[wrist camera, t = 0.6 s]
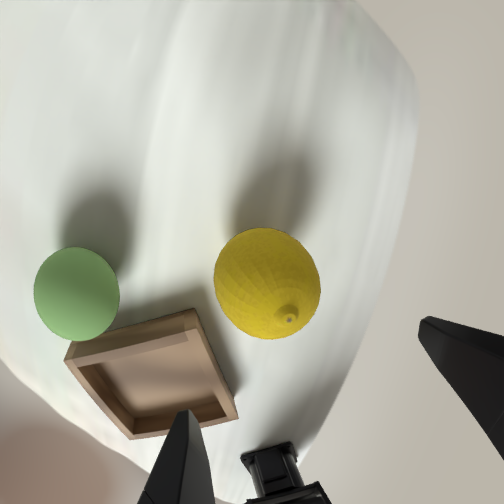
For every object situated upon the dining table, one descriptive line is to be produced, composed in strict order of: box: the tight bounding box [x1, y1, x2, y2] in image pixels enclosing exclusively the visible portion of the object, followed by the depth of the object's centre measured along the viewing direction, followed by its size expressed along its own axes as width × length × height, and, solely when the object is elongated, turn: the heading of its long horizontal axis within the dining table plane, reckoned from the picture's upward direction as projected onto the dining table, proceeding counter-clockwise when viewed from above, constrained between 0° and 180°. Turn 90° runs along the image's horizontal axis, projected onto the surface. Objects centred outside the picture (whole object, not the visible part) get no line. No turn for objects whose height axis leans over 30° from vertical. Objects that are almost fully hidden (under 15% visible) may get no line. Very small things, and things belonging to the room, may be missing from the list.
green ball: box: [34, 247, 120, 341], centre depth 15 cm, size 6×6×6 cm
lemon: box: [214, 228, 321, 340], centre depth 16 cm, size 6×6×8 cm
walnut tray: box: [64, 308, 239, 440], centre depth 20 cm, size 11×11×2 cm
